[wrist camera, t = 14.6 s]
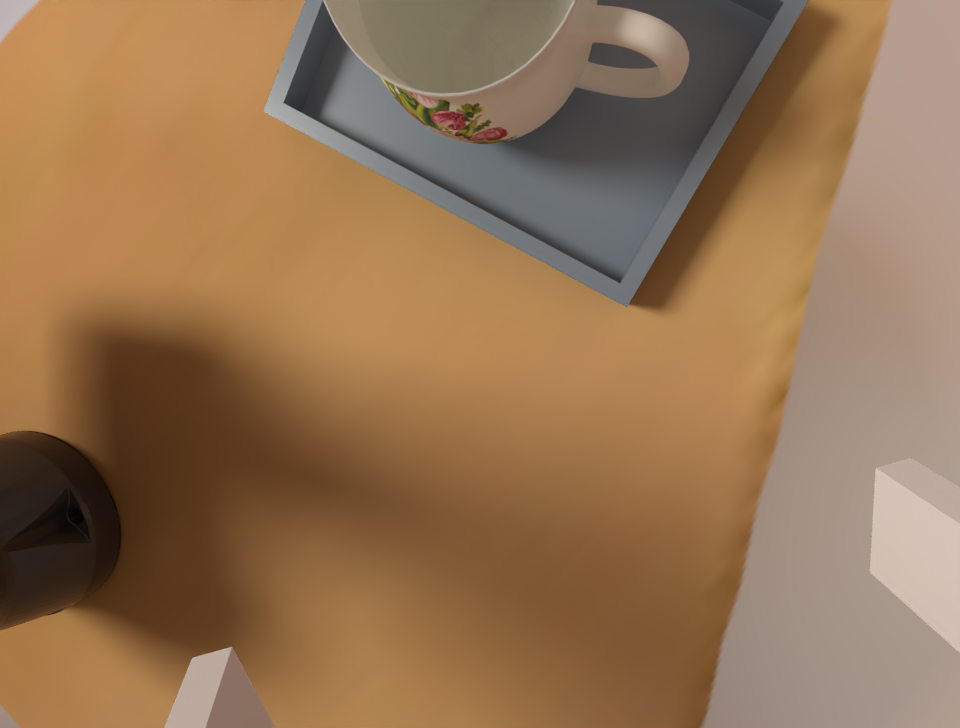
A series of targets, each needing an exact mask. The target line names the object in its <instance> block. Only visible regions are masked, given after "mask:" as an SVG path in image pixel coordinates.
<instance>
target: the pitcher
mask: <svg viewBox="0 0 960 728" xmlns="http://www.w3.org/2000/svg"><path fill="white" fill-rule="evenodd" d="M323 1H324V3H325V6H326V8H327V10H328V12H329V14H330V16H331V19H332V21H333V23H334V24H335V26H336V28H337V30H338V31H339V33H340V35H341V36H342V38H343V40H344V41H345V42H346V43H347V45H348V46H349V47H350V49H351V50H352V51H353V53H354V54H355V55H356V56H357V57H358V58H359V59H360V60H361V61H362V62H363V63H364V64H365V65H366V66H367V67H369V68H370V69H371V70H372V71H374V72H375V73H376V74H378V75H379V77H380V79H381V80H382V82H383V84H384V85H385V87H386V88H387V89H388V91H389V92H390V93H391V94H392V96H393V97H394V98H395V99H396V101H397V102H398V103H399V104H400V105H401V106H402V107H403V108H404V109H405V110H406V111H407V112H408V113H409V114H411V115H412V116H413V117H414V118H416V119H417V120H418V121H419V122H421V123H422V124H423V125H425V126H427V127H428V128H430V129H432V130H434V131H435V132H437V133H439V134H441V135H444V136H447V137H449V138H452V139H455V140H459V141H463V142H468V143H476V144H495V143H501V142H506V141H510V140H513V139H516V138H519V137H521V136H523V135H525V134H527V133H530V132H532V131H533V130H535V129H536V128H538V127H539V126H541V125H542V124H544V123H545V122H546V121H547V120H549V119H550V118H551V117H552V116H553V115H554V114H555V113H556V112H557V111H558V110H559V109H560V108H561V107H562V106H563V105H564V103H565V102H566V100H567V99H568V97H569V96H570V94H571V93H572V91H573V90H574V88H581V89H585V90H589V91H594V92H598V93H603V94H608V95H614V96H621V97H630V98H655V97H660V96H664V95H666V94H669V93H670V92H672V91H673V90H674V89H675V88H677V87H678V86H679V85H680V84H681V82H682V79H683V77H684V75H685V73H686V71H687V68H688V64H689V51H688V48H687V45H686V42H685V40H684V39H683V37H682V36H681V35H680V33H679V32H678V31H676V30H675V29H674V28H673V27H672V26H670V25H669V24H667V23H665V22H664V21H662V20H660V19H658V18H656V17H653V16H651V15H649V14H646V13H643V12H639V11H636V10H631V9H627V8H621V7H614V6H602V5H597V0H323ZM592 43H606V44H612V45H617V46H621V47H625V48H628V49H631V50H634V51H636V52H639V53H641V54H643V55H644V56H646V57H648V58H649V59H651V60H652V61H653V62H654V63H655V64H656V65H657V66H658V67H653V68H644V69H628V68H616V67H609V66H604V65H599V64H595V63H592V62H588V58H589V54H590V51H591V47H592Z"/></svg>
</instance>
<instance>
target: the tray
mask: <svg viewBox="0 0 960 728" xmlns="http://www.w3.org/2000/svg"><path fill="white" fill-rule="evenodd" d="M807 2H808V0H597V5H602V6H614V7H621V8H627V9H631V10H636V11H639V12H643V13H646V14H649V15H651V16H653V17H656V18H658V19H660V20H662V21H664V22H665V23H667V24H669V25H670V26H672V27H673V28H674V29H675V30H676V31H678V32H679V33H680V35H681V36H682V37H683V39H684V40H685V42H686V45H687V48H688V51H689V64H688V68H687V71H686V73H685V75H684V77H683V79H682V82H681V84H680V85H679V86H678V87H677V88H675V89H674V90H673V91H672V92H670V93H669V94H666V95H664V96H660V97H655V98H630V97H621V96H614V95H608V94H603V93H598V92H594V91H589V90H585V89H581V88H574V90H573V91H572V93H571V94H570V96H569V97H568V99H567V100H566V102H565V103H564V105H563V106H562V107H561V108H560V109H559V110H558V111H557V112H556V113H555V114H554V115H553V116H552V117H551V118H550V119H549V120H547V121H546V122H545V123H544V124H542V125H541V126H539V127H538V128H536V129H535V130H533V131H532V132H530V133H527V134H525V135H523V136H521V137H519V138H516V139H513V140H510V141H506V142H501V143H495V144H476V143H468V142H463V141H459V140H455V139H452V138H449V137H447V136H444V135H441V134H439V133H437V132H435V131H434V130H432V129H430V128H428V127H427V126H425V125H423V124H422V123H421V122H419V121H418V120H417V119H416V118H414V117H413V116H412V115H411V114H409V113H408V112H407V111H406V110H405V109H404V108H403V107H402V106H401V105H400V104H399V103H398V102H397V101H396V99H395V98H394V97H393V96H392V94H391V93H390V92H389V91H388V89H387V88H386V87H385V85H384V84H383V82H382V80H381V79H380V77H379V75H378V74H376V73H375V72H374V71H372V70H371V69H370V68H369V67H367V66H366V65H365V64H364V63H363V62H362V61H361V60H360V59H359V58H358V57H357V56H356V55H355V54H354V53H353V51H352V50H351V49H350V47H349V46H348V45H347V43H346V42H345V41H344V40H343V38H342V36H341V35H340V33H339V31H338V30H337V28H336V26H335V24H334V23H333V21H332V19H331V16H330V14H329V12H328V10H327V8H326V6H325V3H324V1H323V0H305V3H304V5H303V8H302V10H301V13H300V16H299V18H298V21H297V24H296V26H295V29H294V32H293V34H292V37H291V40H290V42H289V45H288V48H287V50H286V53H285V56H284V58H283V61H282V63H281V66H280V69H279V71H278V74H277V77H276V79H275V82H274V85H273V87H272V90H271V93H270V95H269V98H268V101H267V103H266V106H265V108H264V112H265V113H267V114H269V115H271V116H273V117H275V118H277V119H278V120H280V121H282V122H284V123H286V124H288V125H290V126H291V127H293V128H295V129H297V130H299V131H301V132H303V133H304V134H306V135H308V136H310V137H312V138H314V139H316V140H317V141H319V142H321V143H323V144H325V145H327V146H328V147H330V148H332V149H334V150H336V151H338V152H340V153H341V154H343V155H345V156H347V157H349V158H351V159H353V160H354V161H356V162H358V163H360V164H362V165H364V166H366V167H367V168H369V169H371V170H373V171H375V172H377V173H379V174H380V175H382V176H384V177H386V178H388V179H390V180H392V181H393V182H395V183H397V184H399V185H401V186H403V187H405V188H406V189H408V190H410V191H412V192H414V193H416V194H418V195H419V196H421V197H423V198H425V199H427V200H429V201H431V202H432V203H434V204H436V205H438V206H440V207H442V208H444V209H445V210H447V211H449V212H451V213H453V214H455V215H457V216H458V217H460V218H462V219H464V220H466V221H468V222H469V223H471V224H473V225H475V226H477V227H479V228H481V229H482V230H484V231H486V232H488V233H490V234H492V235H494V236H495V237H497V238H499V239H501V240H503V241H505V242H507V243H508V244H510V245H512V246H514V247H516V248H518V249H520V250H521V251H523V252H525V253H527V254H529V255H531V256H533V257H534V258H536V259H538V260H540V261H542V262H544V263H546V264H547V265H549V266H551V267H553V268H555V269H557V270H559V271H560V272H562V273H564V274H566V275H568V276H570V277H572V278H573V279H575V280H577V281H579V282H581V283H583V284H585V285H586V286H588V287H590V288H592V289H594V290H596V291H598V292H599V293H601V294H603V295H605V296H607V297H609V298H611V299H612V300H614V301H616V302H618V303H620V304H622V305H623V306H625V307H627V306H628V304H629V303H630V301H631V299H632V297H633V296H634V294H635V292H636V291H637V289H638V287H639V286H640V284H641V282H642V281H643V279H644V277H645V276H646V274H647V272H648V270H649V269H650V267H651V265H652V264H653V262H654V260H655V259H656V257H657V255H658V254H659V252H660V250H661V248H662V247H663V245H664V243H665V242H666V240H667V238H668V237H669V235H670V233H671V232H672V230H673V228H674V227H675V225H676V223H677V221H678V220H679V218H680V216H681V215H682V213H683V211H684V210H685V208H686V206H687V205H688V203H689V201H690V200H691V198H692V196H693V194H694V193H695V191H696V189H697V188H698V186H699V184H700V183H701V181H702V179H703V178H704V176H705V174H706V172H707V171H708V169H709V167H710V166H711V164H712V162H713V161H714V159H715V157H716V156H717V154H718V152H719V151H720V149H721V147H722V145H723V144H724V142H725V140H726V139H727V137H728V135H729V134H730V132H731V130H732V129H733V127H734V125H735V124H736V122H737V120H738V118H739V117H740V115H741V113H742V112H743V110H744V108H745V107H746V105H747V103H748V102H749V100H750V98H751V96H752V95H753V93H754V91H755V90H756V88H757V86H758V85H759V83H760V81H761V80H762V78H763V76H764V75H765V73H766V71H767V69H768V68H769V66H770V64H771V63H772V61H773V59H774V58H775V56H776V54H777V53H778V51H779V49H780V48H781V46H782V44H783V42H784V41H785V39H786V37H787V36H788V34H789V32H790V31H791V29H792V27H793V26H794V24H795V22H796V20H797V19H798V17H799V15H800V14H801V12H802V10H803V9H804V7H805V5H806V4H807ZM588 62H592V63H595V64H599V65H604V66H609V67H616V68H628V69H644V68H653V67H658V66H657V65H656V64H655V63H654V62H653V61H652V60H651V59H649V58H648V57H646V56H644V55H643V54H641V53H639V52H636V51H634V50H631V49H628V48H625V47H621V46H617V45H612V44H606V43H592V47H591V51H590V54H589V58H588Z"/></svg>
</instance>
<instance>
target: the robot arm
mask: <svg viewBox="0 0 960 728" xmlns="http://www.w3.org/2000/svg"><path fill="white" fill-rule="evenodd" d="M119 544H120V531H119V522H118V517H117V513H116V509H115V506H114V503H113V501H112V498H111V496H110V494H109V492H108V490H107V488H106V486H105V484H104V482H103V481H102V479H101V478H100V476H99V475H98V474H97V472H96V471H95V470H94V468H93V467H92V466H91V465H90V464H89V463H88V462H87V461H86V460H85V459H84V458H83V457H82V456H81V455H80V454H79V453H78V452H76V451H75V450H74V449H72V448H71V447H69V446H68V445H66V444H65V443H63V442H61V441H59V440H57V439H55V438H53V437H50V436H48V435H44V434H41V433H37V432H30V431H17V432H10V433H6V434H3V435H0V630H3V629H7V628H10V627H13V626H16V625H19V624H22V623H25V622H28V621H31V620H34V619H37V618H40V617H42V616H46V615H51V614H55V613H59V612H61V611H63V610H66V609H68V608H69V607H71V606H73V605H75V604H76V603H78V602H79V601H81V600H82V599H84V598H85V597H87V596H88V595H90V594H91V593H93V592H94V591H96V590H97V589H98V588H99V587H100V586H101V585H102V584H103V583H104V582H105V581H106V580H107V578H108V577H109V576H110V574H111V572H112V570H113V568H114V566H115V563H116V560H117V556H118V552H119ZM870 573H871V574H872V575H874V576H875V577H876V578H877V579H878V580H879V581H880V582H881V583H882V584H883V585H885V586H886V587H887V588H888V589H889V590H890V591H891V592H893V594H895V595H896V596H897V597H898V598H899V599H900V600H901V601H902V602H904V603H905V604H906V605H907V606H908V607H909V608H910V609H911V610H912V611H914V612H915V613H916V614H917V615H918V616H919V617H920V618H922V620H924V621H925V622H926V623H927V624H928V625H929V626H930V627H931V628H932V629H934V630H935V631H936V632H937V633H938V634H939V635H940V636H941V637H943V638H944V639H945V640H946V641H947V642H948V643H949V644H950V645H951V646H953V647H954V648H955V649H956V650H957V651H958V652H960V487H958V486H957V485H955V484H953V483H952V482H950V481H948V480H947V479H945V478H944V477H942V476H940V475H939V474H937V473H935V472H933V471H931V470H930V469H928V468H927V467H925V466H924V465H922V464H920V463H919V462H917V461H915V460H914V459H912V458H910V459H905V460H902V461H898V462H895V463H891V464H888V465H884V466H880V467H877V468H876V471H875V488H874V506H873V523H872V542H871V559H870ZM164 728H275V726H274V724H273V722H272V720H271V718H270V717H269V715H268V713H267V711H266V709H265V707H264V705H263V704H262V702H261V700H260V698H259V696H258V694H257V692H256V690H255V689H254V687H253V685H252V683H251V681H250V679H249V677H248V675H247V674H246V672H245V670H244V668H243V666H242V664H241V662H240V661H239V659H238V657H237V655H236V653H235V651H234V649H233V647H229V648H226V649H222V650H218V651H215V652H211V653H208V654H204V655H200V656H197V657H193V658H192V660H191V662H190V665H189V667H188V670H187V672H186V675H185V677H184V680H183V682H182V685H181V687H180V690H179V692H178V695H177V697H176V700H175V702H174V705H173V707H172V710H171V712H170V715H169V717H168V720H167V722H166V725H165V727H164Z"/></svg>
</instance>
